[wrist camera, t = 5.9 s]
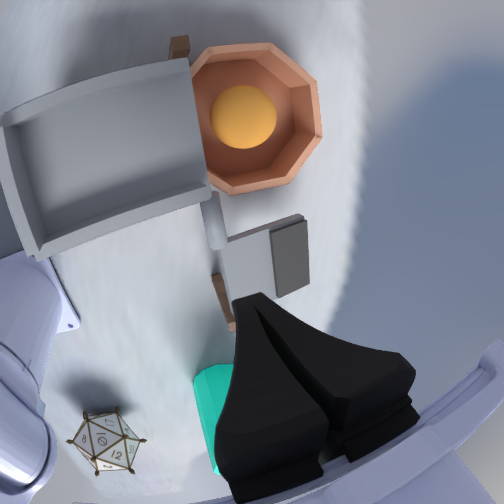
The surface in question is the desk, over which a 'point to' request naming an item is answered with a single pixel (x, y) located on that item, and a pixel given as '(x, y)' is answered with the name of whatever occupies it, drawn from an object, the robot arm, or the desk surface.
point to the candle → (211, 401)
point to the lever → (131, 174)
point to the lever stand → (181, 50)
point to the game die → (107, 442)
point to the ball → (243, 116)
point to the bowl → (287, 107)
